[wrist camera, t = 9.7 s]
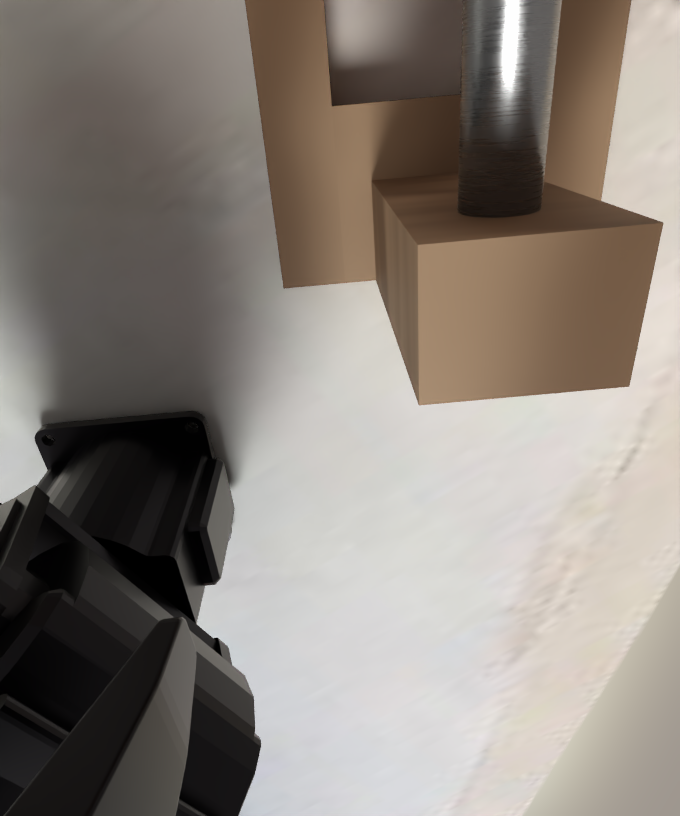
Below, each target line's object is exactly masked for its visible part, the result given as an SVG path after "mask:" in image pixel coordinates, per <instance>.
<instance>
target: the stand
mask: <svg viewBox="0 0 680 816" xmlns="http://www.w3.org/2000/svg"><path fill="white" fill-rule="evenodd" d="M245 4H246V11H247V19H248V26H249V34H250V41H251V49H252V56H253V64H254V71H255V78H256V86H257V93H258V101H259V108H260V116H261V123H262V131H263V138H264V145H265V153H266V160H267V168H268V175H269V183H270V190H271V198H272V205H273V212H274V220H275V227H276V235H277V242H278V250H279V257H280V265H281V272H282V280H283V287H284V288H293V287H304V286H316V285H327V284H338V283H349V282H360V281H371V280H376V282H377V284H378V287H379V290H380V293H381V296H382V299H383V302H384V305H385V308H386V311H387V314H388V316H389V319H390V322H391V325H392V328H393V331H394V334H395V337H396V340H397V343H398V346H399V349H400V351H401V354H402V357H403V360H404V363H405V366H406V369H407V372H408V375H409V378H410V381H411V383H412V386H413V389H414V392H415V395H416V398H417V401H418V404H419V405H427V404H439V403H450V402H461V401H472V400H483V399H494V398H506V397H517V396H528V395H539V394H550V393H562V392H573V391H584V390H595V389H606V388H618V387H629V385H630V380H631V375H632V370H633V366H634V361H635V356H636V351H637V346H638V342H639V337H640V332H641V327H642V323H643V318H644V313H645V308H646V303H647V299H648V294H649V289H650V284H651V279H652V275H653V270H654V265H655V260H656V256H657V251H658V246H659V241H660V236H661V232H662V227H663V222H660V221H657V220H654V219H651V218H648V217H645V216H642V215H640V214H637V213H634V212H631V211H628V210H625V209H622V208H619V207H616V206H614V205H611V204H608V203H605V202H602V201H601V197H602V190H603V184H604V177H605V170H606V164H607V157H608V150H609V144H610V137H611V131H612V124H613V117H614V111H615V104H616V97H617V91H618V84H619V78H620V71H621V64H622V58H623V51H624V44H625V38H626V31H627V25H628V18H629V11H630V5H631V0H463V25H462V63H461V94H458V95H447V96H436V97H425V98H414V99H403V100H392V101H382V102H371V103H360V104H349V105H338V106H332V103H331V90H330V77H329V63H328V50H327V37H326V24H325V11H324V0H245Z"/></svg>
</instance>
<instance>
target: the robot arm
mask: <svg viewBox="0 0 680 816" xmlns="http://www.w3.org/2000/svg"><path fill="white" fill-rule="evenodd" d="M189 422H194V423H196V424H197V426H198V427H197V428H192V427H190V426H189V425H188V424H187V423H189ZM46 435H50V436H52V437H53V438H54V439H55V440H51V439H49V438H48V437H47V436H46ZM35 442H36V444H37V446H38V449H39V451H40V453H41V456H42V458H43V460H44V463H45V465H46V467H47V470H48V471H47V473H46V474H45V475H44V477H43V478H42V479H41V481H40V482H39V484H38V485H37V486H36V485H34V486H33V487H31V488H29V489H28V490H26V491H25V492H23V493H22V494H20V495H18V496H17V497H15V498H14V499H12V500H10V501H8V502H6V503H4V504H1V503H0V816H239V813H240V811H241V808H242V805H243V803H244V800H245V798H246V795H247V793H248V790H249V788H250V785H251V783H252V780H253V778H254V775H255V771H256V766H257V762H258V757H259V753H260V748H261V740H260V738H259V736H257V735H256V734H255V716H254V697H253V694H252V692H251V690H250V687H249V685H248V682H247V680H246V678H245V675H243V674H242V673H241V672H240V671H239V670H237V669H236V668H235V667H234V666H232V662H231V658H230V653H229V648H228V646H227V645H225V644H224V643H223V642H222V641H221V640H220V639H218V638H214V639H213V638H212V637H211V636H210V635H209V634H207V633H206V632H205V631H204V630H203V629H201V628H200V627H199V626H198V625H197V619H198V615H199V610H200V606H201V602H202V597H203V593H204V588H205V585H215V584H216V583H217V582H218V581H219V580H220V579H221V575H222V570H223V565H224V560H225V555H226V550H227V545H228V541H229V540H230V538H231V533H232V527H231V524H232V519H233V514H234V504H233V500H232V496H231V491H230V487H229V482H228V478H227V474H226V469H225V465H224V463H223V462H222V461H221V460H220V459H219V458H215V455H214V451H213V447H212V442H211V438H210V434H209V430H208V425H207V421H206V419H205V417H204V416H203V415H202V414H200V413H198V412H194V411H188V412H177V413H166V414H154V415H143V416H132V417H121V418H110V419H99V420H87V421H76V422H65V423H54V424H47V425H44V426H42V427H41V428H40V429H39V431H38V432H37V433H36V435H35Z"/></svg>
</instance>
